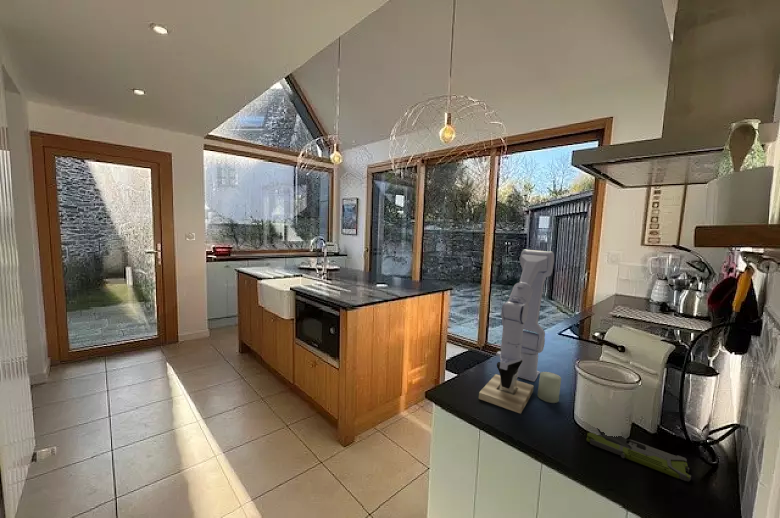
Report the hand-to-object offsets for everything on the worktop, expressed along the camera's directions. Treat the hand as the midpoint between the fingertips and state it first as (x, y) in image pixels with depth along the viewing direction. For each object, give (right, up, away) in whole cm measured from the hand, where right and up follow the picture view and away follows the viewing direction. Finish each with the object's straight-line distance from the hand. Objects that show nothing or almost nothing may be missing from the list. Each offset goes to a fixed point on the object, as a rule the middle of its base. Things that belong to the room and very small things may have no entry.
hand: (507, 384), depth 100 cm
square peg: (0, -3, 0) cm, 3 cm away
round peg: (+12, -4, 0) cm, 13 cm away
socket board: (0, -3, 0) cm, 3 cm away
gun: (+23, -8, -21) cm, 32 cm away
